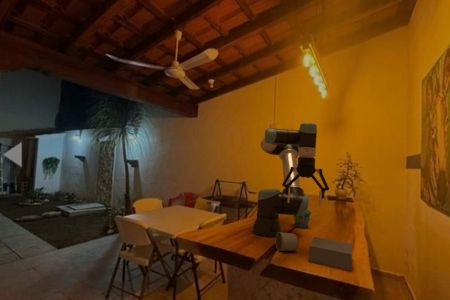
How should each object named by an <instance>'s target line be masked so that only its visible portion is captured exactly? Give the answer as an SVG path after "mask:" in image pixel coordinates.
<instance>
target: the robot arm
mask: <svg viewBox="0 0 450 300" xmlns="http://www.w3.org/2000/svg"><path fill="white" fill-rule="evenodd" d="M317 134H318V127H317V124H316V123H313V122H302V123H300V124H299V129H288V128H287V129H285V128H282V129H281V128H273V127H272V128H271V127H270V128H266V129H265V130H264V138H262V140H261V142H260V148H261V150H262V151H263V152H265V153H266V154H268V155H272V156H278V157H279V159H280V160H281V162H282V163H281V164H282V175H283V182H282V183H281V184H282V185H281V186H282V187H283V190H282V191H281V190H280V189H278V188H266V189H261V190H259V191H258V193H257V199H256V200H257V202H256V203H257V204H256V218H255V220H254V223H253V225H252V229H251V230H252V231H253V232H254V233H253V232H252V233H253V234H255V233H256V234H255V235H257V234H260V235H259V236H261V235H265V236H264V237H266V236H276V235H277V233H278V232H282V228H281V225H280V221H279V215H287V216H294V215H296V216H303V215H305V214H306V212H307V210H309V209H308V207H309V202H310V201H309V198H310V197H309V195H308V194H307V193H305V192H304V188H302V187H301V185H300V177H301V178H307V179H310V178H312V180H313V182H314V183H315V184H316V185H317V186H318V188H319V189H320V190H319V192H318V193H319V194H318V195H319V196H318V206H319V207H322V200H323V199H325V193H326V191H329V190H330V187H329V185H328V183H327V181H326V179H325V177H324V175H323V169H322V168H316V158H315V157H316V152H317V151H316V150H317V149H316V148H317V137H318V136H317ZM315 173H317V174H318V175H319V177H320V180H321V182H322V184H323V185H322V184H321V183H320V181H319V180H318V179H317V177H316V176H315V175H314V174H315Z"/></svg>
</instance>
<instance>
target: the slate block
mask: <svg viewBox="0 0 450 300" xmlns="http://www.w3.org/2000/svg"><path fill="white" fill-rule="evenodd" d="M352 257H353V243H350V242H345V241H341V240H340V241H339V240H334V239H329V238H323V237H319V236H314V237H313V239H312V240H311V242H310V244H309V245H308V262H311V263H315V264H320V265H323V266H326V267H327V266H328V267H330V268H331V267H332V268H336V269H340V270H344V271H349V272H351V271H352V261H353V258H352Z"/></svg>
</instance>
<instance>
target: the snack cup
mask: <svg viewBox="0 0 450 300" xmlns="http://www.w3.org/2000/svg"><path fill="white" fill-rule="evenodd" d="M311 214H312V211H311V210H309V209H307V212H306V214H305V215H303V216H296V215H293V216H294V217H293V218H294V219H293V221H294V226H295V227H297V228H301V229H306V228H308V226H309V222H310V217H311Z"/></svg>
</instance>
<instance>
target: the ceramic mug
mask: <svg viewBox="0 0 450 300" xmlns="http://www.w3.org/2000/svg"><path fill="white" fill-rule="evenodd" d="M274 244H275V247H276V250H277V251H278V252H294V251H297V250H298V249H299V247H300V246H299V245H300V242H299V237H298V236H297V235H296V234H295V233H291V232H282V231H281V232H278V233H277V235H276V237H275V243H274Z"/></svg>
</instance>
